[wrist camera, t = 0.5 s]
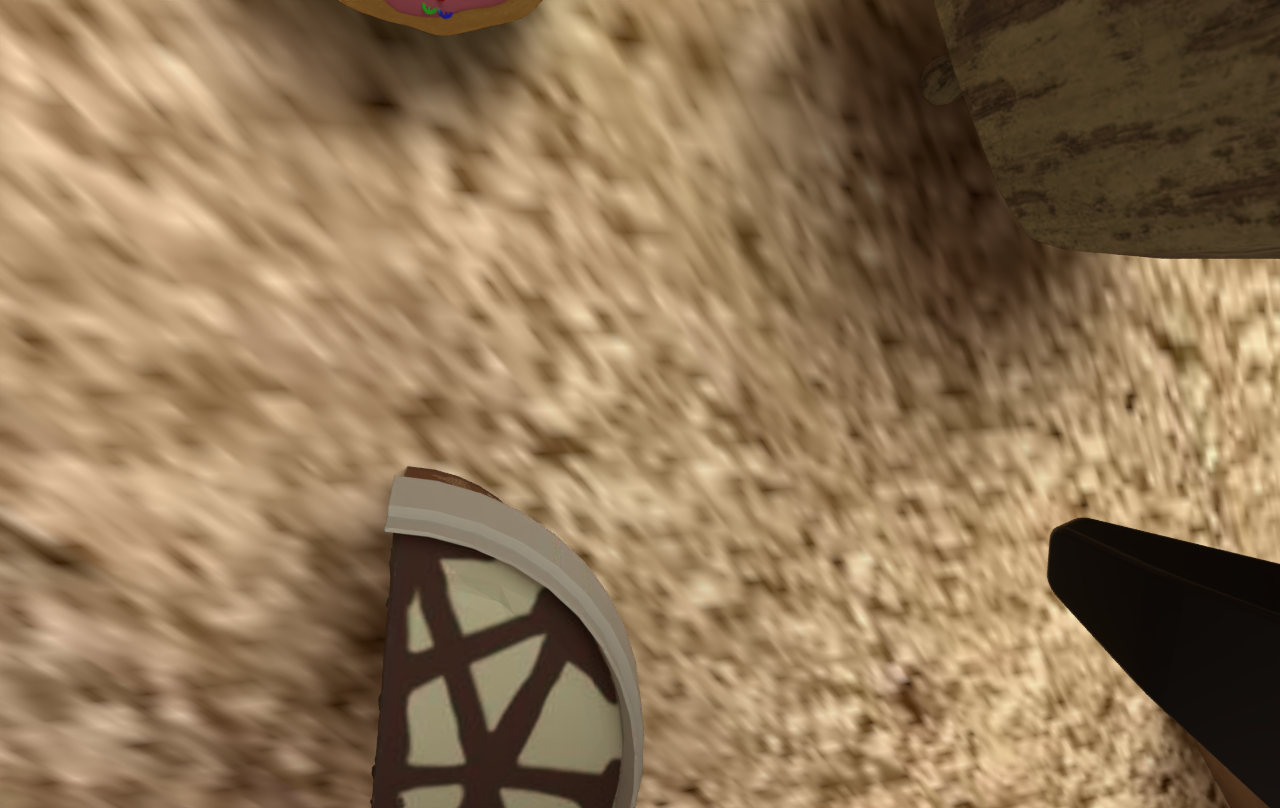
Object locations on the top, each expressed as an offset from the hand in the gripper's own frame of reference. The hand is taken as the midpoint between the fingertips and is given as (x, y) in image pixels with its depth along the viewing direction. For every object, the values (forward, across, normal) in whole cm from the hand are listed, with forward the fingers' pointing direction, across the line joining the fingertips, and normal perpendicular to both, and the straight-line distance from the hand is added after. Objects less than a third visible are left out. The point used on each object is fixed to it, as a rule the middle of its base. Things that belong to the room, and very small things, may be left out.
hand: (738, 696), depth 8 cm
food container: (+15, +4, +9) cm, 18 cm away
